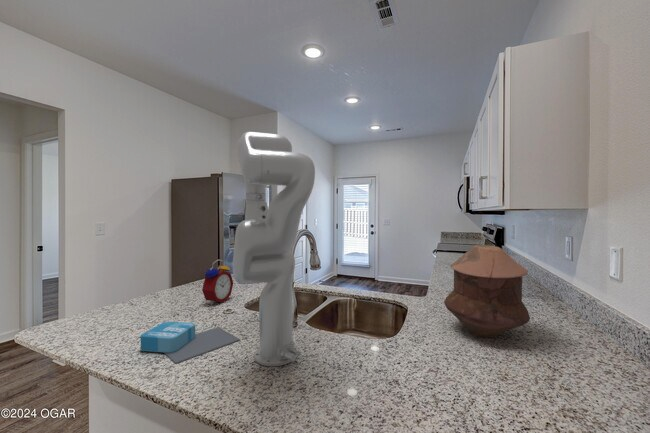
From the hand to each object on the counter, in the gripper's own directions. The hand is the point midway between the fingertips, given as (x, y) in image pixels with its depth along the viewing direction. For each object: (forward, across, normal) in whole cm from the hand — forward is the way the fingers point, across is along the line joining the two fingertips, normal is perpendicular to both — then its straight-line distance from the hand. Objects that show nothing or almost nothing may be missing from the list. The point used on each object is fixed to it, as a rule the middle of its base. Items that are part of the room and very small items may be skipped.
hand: (256, 245), depth 113 cm
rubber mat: (+29, -4, +24) cm, 38 cm away
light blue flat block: (+26, +7, +26) cm, 37 cm away
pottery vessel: (+29, -68, -47) cm, 88 cm away
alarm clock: (+29, +34, 0) cm, 45 cm away
